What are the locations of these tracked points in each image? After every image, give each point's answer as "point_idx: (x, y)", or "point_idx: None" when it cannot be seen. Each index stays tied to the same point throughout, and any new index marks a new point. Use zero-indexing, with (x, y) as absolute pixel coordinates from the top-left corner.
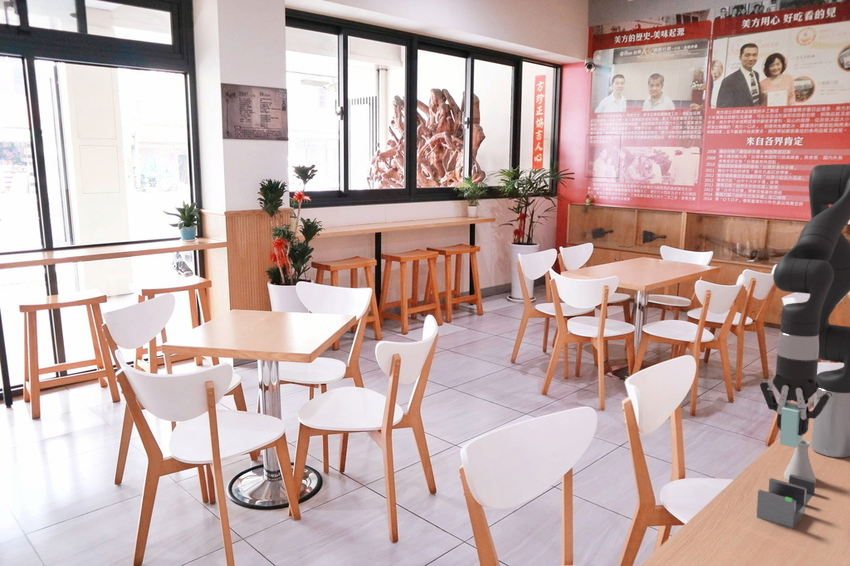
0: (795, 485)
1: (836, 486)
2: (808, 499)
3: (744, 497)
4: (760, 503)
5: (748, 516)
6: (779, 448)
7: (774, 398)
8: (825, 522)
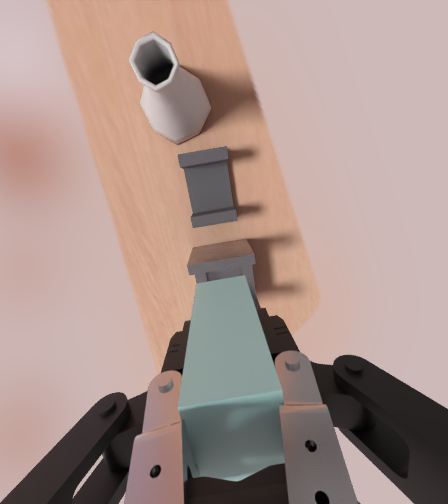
0: (235, 260)
1: (236, 66)
2: (229, 185)
3: (152, 254)
4: None
5: (191, 302)
6: None
7: (90, 468)
8: (275, 232)
